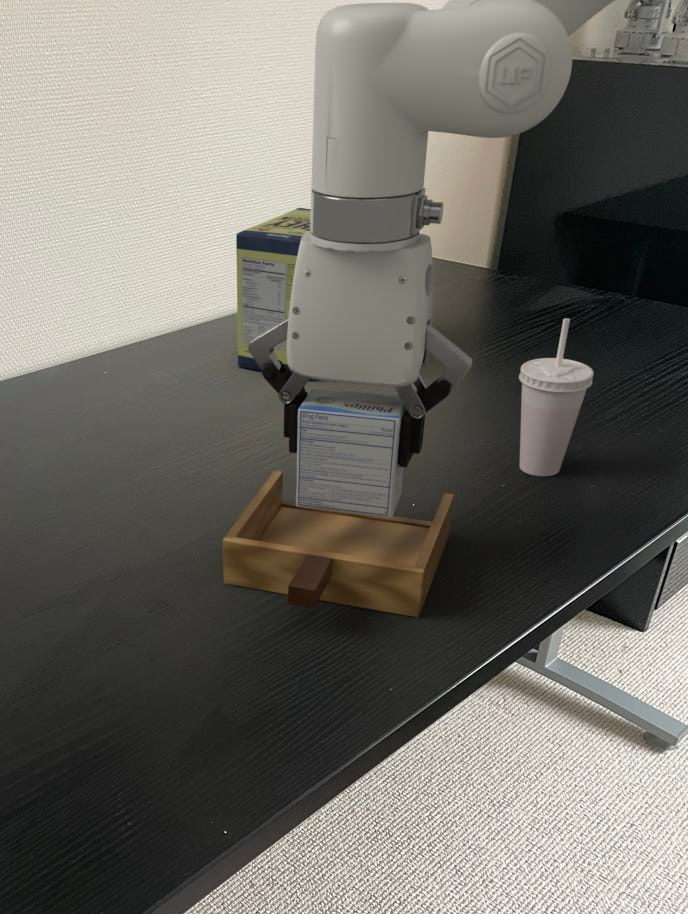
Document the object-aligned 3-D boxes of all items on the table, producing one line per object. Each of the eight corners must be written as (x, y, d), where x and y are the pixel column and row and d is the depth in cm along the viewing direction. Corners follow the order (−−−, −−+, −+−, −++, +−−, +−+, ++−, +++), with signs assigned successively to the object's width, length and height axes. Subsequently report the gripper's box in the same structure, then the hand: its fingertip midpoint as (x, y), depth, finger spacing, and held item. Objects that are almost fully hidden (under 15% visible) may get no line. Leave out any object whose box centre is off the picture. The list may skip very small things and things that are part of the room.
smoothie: (579, 459, 95) (608, 314, 87) (569, 487, 90) (599, 335, 82) (511, 450, 97) (534, 307, 89) (498, 476, 93) (521, 327, 85)
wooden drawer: (449, 534, 84) (454, 492, 81) (405, 653, 70) (410, 606, 68) (275, 508, 89) (275, 468, 86) (201, 615, 75) (199, 570, 72)
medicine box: (401, 496, 80) (411, 395, 76) (391, 521, 77) (401, 416, 72) (308, 485, 83) (311, 386, 78) (294, 509, 79) (296, 406, 74)
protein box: (368, 343, 125) (377, 213, 116) (312, 382, 114) (316, 242, 105) (296, 332, 130) (298, 206, 121) (235, 368, 119) (233, 232, 110)
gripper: (502, 211, 68) (470, 448, 78) (262, 200, 73) (261, 422, 83) (486, 236, 62) (454, 488, 72) (227, 222, 67) (231, 458, 77)
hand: (351, 452), depth 77 cm, fingers closed on medicine box, 8 cm apart
